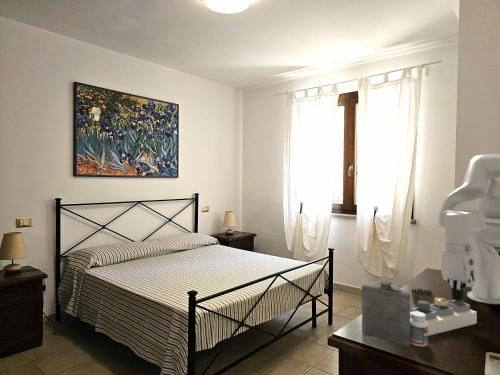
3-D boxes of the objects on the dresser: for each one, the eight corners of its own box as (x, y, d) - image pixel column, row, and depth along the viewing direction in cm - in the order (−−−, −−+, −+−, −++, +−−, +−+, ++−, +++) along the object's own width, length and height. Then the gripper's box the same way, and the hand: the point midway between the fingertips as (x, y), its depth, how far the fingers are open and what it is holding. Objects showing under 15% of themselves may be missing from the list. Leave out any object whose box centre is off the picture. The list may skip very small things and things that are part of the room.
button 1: (423, 307, 113) (423, 300, 113) (432, 311, 109) (432, 303, 109) (415, 309, 111) (415, 301, 111) (424, 313, 108) (424, 305, 108)
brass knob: (439, 304, 116) (439, 296, 116) (449, 307, 112) (449, 299, 112) (432, 305, 114) (432, 297, 114) (441, 309, 111) (441, 301, 111)
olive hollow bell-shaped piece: (436, 317, 119) (436, 295, 119) (414, 315, 120) (414, 294, 120) (429, 309, 126) (430, 288, 126) (409, 308, 128) (409, 287, 127)
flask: (364, 330, 109) (364, 275, 109) (411, 342, 101) (411, 284, 100) (360, 334, 107) (360, 278, 106) (408, 347, 98) (408, 287, 97)
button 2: (455, 306, 119) (455, 299, 119) (465, 309, 115) (465, 302, 115) (448, 307, 117) (448, 300, 117) (458, 311, 114) (458, 303, 114)
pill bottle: (427, 348, 97) (427, 318, 97) (407, 344, 100) (407, 315, 100) (428, 341, 102) (428, 312, 101) (409, 337, 104) (409, 309, 104)
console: (451, 313, 122) (452, 297, 122) (476, 323, 114) (476, 306, 113) (404, 324, 113) (405, 307, 113) (427, 335, 105) (427, 317, 105)
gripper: (486, 251, 110) (486, 305, 111) (445, 243, 124) (445, 291, 125) (471, 253, 108) (471, 309, 108) (431, 245, 121) (431, 294, 122)
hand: (457, 299), depth 117 cm, fingers closed
